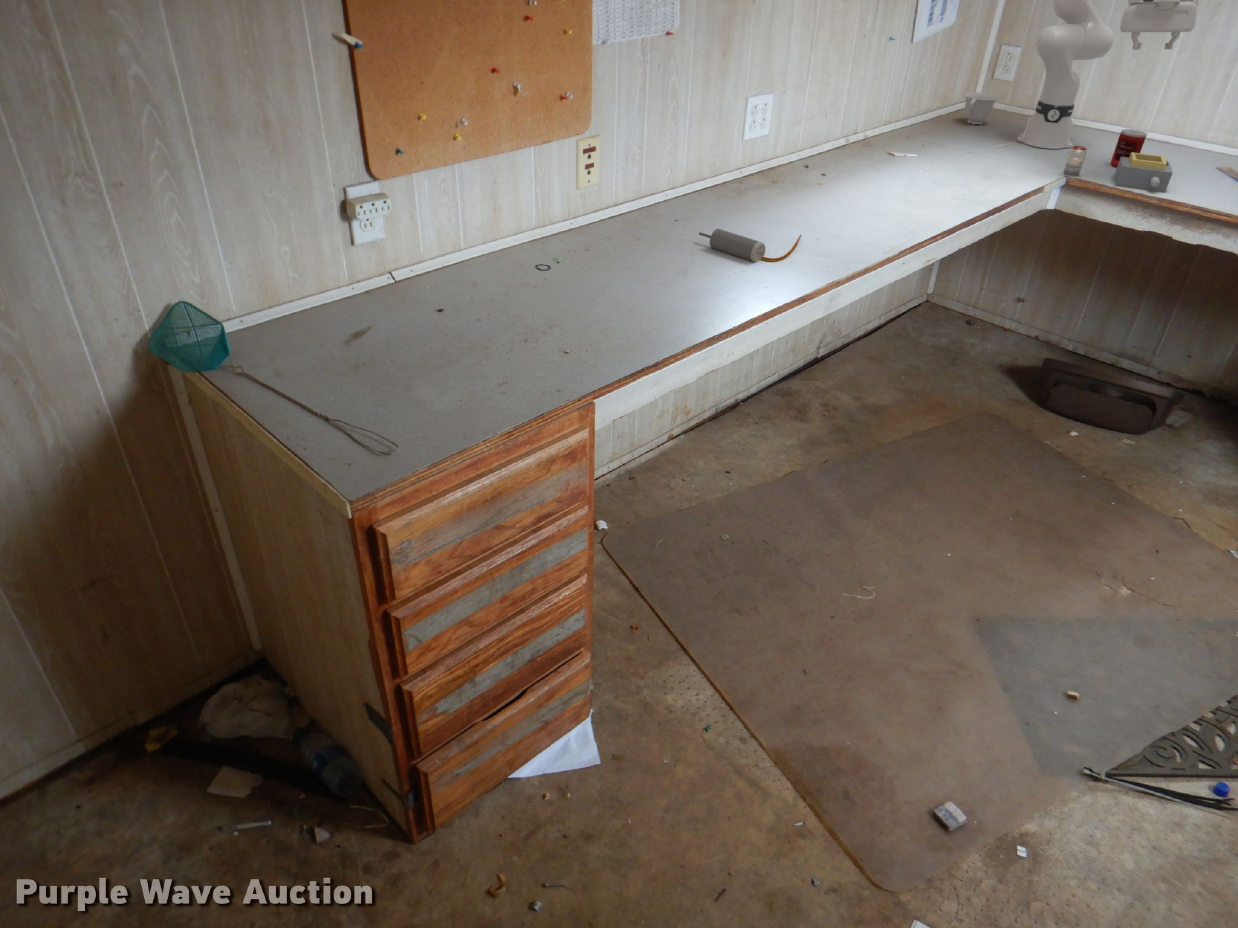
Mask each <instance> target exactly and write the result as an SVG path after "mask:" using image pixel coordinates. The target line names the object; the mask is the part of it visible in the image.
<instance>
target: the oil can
mask: <svg viewBox="0 0 1238 928" xmlns="http://www.w3.org/2000/svg"><path fill="white" fill-rule="evenodd" d="M1087 152H1088V148H1087V147H1086V146H1083V145H1082V146H1081V145H1073V146H1072V147H1071V148H1070V150H1069V154H1068V156H1067V159H1066V162H1065V166H1064V169H1063V172H1062V173H1063V174H1064V175H1065V176H1070V177H1078V176H1080V174H1081V170H1082V168H1083V165H1084V162H1085V159H1086V155H1087Z"/></svg>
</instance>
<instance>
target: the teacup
mask: <svg viewBox="0 0 1238 928" xmlns="http://www.w3.org/2000/svg"><path fill="white" fill-rule="evenodd" d="M964 97H965V105H964V117H965V118H966V119H967V121H966V123H967V122H968V123H967V124H969V123H972V124H981V123H982V124H983V122H984V121H986V120H987V119H989V117H990V115H991V112H992V110H993V108H994V105H995V103H996V101H997V100H998V99H999V97H998V96H997V95H994V94H990V93H984V92H967V93H965V94H964ZM972 124H971V125H972ZM982 124H981V125H982Z"/></svg>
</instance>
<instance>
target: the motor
mask: <svg viewBox="0 0 1238 928" xmlns="http://www.w3.org/2000/svg"><path fill="white" fill-rule="evenodd" d="M698 236H703V237H704V238H705V237H706V238H708V239H709V246H710V248H711V249H714V250H716V251H719V252H723V253H726V254H728V255H732V256H735V257H738V258H740V259H743V260H747V261H749V262H753V263H758V262H761V261H764V262H769V263H776V262H780V261H783V260H785V259H786V258H788V257H789V256H790V255H791V254H792V253H793V252H794V251H795V250H796V248H797V246H798V244H799V242H800V240H801V237H802V236H803V235H802V234H800V235H799V236H798V238H797V240H796V241H795V243H794V245H793V246H792V247H791V248H790V250H789V251H788V252H787V253H785V254H783V255H782V256H779V257H776V258H775V257H774V258H771V257H765V254H766V249H767V248H766V245H765V243H764V242H761V241H759V240H756V239H752V238H750V237H746V236H743V235H739V234H737V233H733V232H732V231H727V230H723V229H722V228H716V229H714V230H713V231H712V233H711V235H710V234H707V233H704V232H701V231H699V232H698Z"/></svg>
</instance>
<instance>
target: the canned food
mask: <svg viewBox="0 0 1238 928" xmlns="http://www.w3.org/2000/svg"><path fill="white" fill-rule="evenodd" d="M1146 138H1147V132H1145V131H1142V130H1138V129H1133V128H1127V129H1122V130H1121V132H1120V133H1119V137H1118V139H1117V143H1116V145H1115V148H1114V151H1113V154H1112V157H1111V160H1110V166H1112V167H1114V168H1116V169H1117V166H1118V163H1119V160H1120V158H1121V157H1127V158H1129V157H1130V154H1131V152H1133V153H1142V152H1141V151H1142V149H1143V147H1144V143H1145V141H1146Z"/></svg>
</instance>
